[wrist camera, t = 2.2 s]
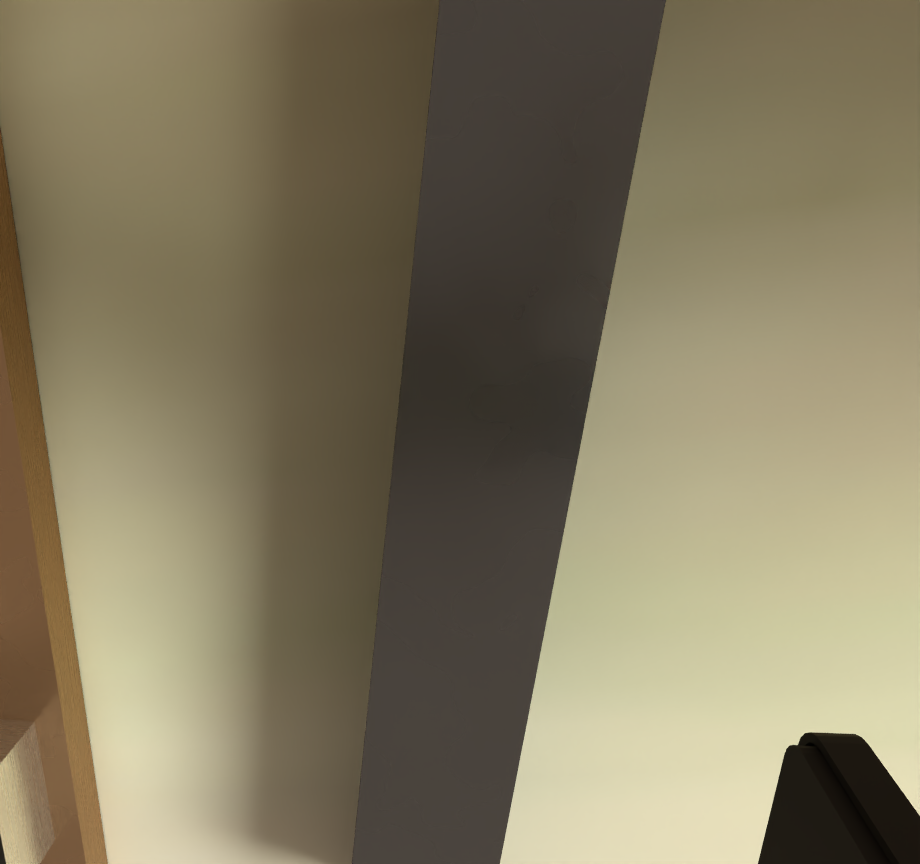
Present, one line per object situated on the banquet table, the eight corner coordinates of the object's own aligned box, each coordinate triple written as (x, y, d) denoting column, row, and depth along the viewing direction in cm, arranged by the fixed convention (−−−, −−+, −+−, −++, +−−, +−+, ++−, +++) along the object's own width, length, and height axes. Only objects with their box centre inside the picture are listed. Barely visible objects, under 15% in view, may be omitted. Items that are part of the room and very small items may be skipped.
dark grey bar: (648, -177, 13) (736, -363, 9) (465, 879, 22) (459, 1071, 17) (482, -200, 13) (480, -399, 9) (365, 867, 22) (332, 1056, 17)
